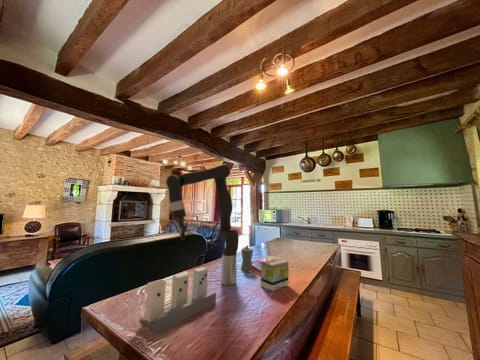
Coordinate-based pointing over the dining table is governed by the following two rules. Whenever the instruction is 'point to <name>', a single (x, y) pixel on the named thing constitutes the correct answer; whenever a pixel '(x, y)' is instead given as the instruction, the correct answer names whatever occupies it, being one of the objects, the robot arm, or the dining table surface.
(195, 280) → the tile three
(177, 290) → the tile two
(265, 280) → the tea box
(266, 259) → the candle holder
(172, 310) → the tile stand
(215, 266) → the dining table surface
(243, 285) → the dining table surface
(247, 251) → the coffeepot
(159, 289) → the tile one
